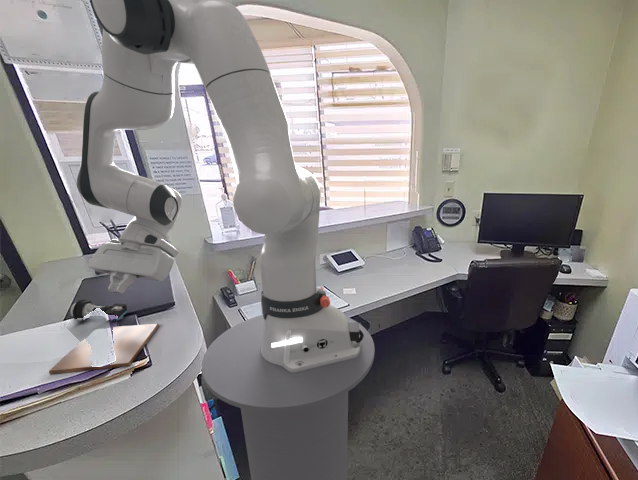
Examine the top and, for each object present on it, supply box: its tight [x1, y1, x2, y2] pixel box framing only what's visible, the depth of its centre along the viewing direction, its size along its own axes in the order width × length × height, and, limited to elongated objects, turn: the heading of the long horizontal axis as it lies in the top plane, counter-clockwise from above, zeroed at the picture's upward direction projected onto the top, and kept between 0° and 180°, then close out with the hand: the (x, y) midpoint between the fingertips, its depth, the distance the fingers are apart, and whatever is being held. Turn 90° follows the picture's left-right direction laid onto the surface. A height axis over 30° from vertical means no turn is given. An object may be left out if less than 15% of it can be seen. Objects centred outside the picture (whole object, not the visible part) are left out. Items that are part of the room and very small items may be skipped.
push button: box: [69, 298, 128, 321], centre depth 77 cm, size 7×5×10 cm
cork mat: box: [48, 323, 160, 375], centre depth 67 cm, size 13×16×1 cm
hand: (115, 291), depth 74 cm, fingers closed
